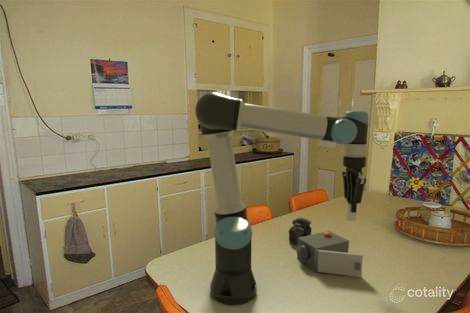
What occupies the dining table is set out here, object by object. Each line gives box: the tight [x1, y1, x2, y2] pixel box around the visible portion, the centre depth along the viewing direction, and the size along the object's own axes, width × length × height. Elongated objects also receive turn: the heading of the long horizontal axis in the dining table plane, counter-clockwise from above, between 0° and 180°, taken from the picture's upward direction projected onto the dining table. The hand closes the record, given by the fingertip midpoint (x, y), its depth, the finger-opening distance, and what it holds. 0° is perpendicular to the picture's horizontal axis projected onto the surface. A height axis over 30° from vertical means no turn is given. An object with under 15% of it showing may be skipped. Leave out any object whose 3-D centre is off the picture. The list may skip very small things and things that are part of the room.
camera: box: [288, 216, 312, 246], centre depth 146 cm, size 13×10×10 cm
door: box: [313, 250, 363, 278], centre depth 115 cm, size 16×2×8 cm, turn 76°
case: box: [296, 230, 350, 270], centre depth 126 cm, size 18×11×10 cm, turn 116°
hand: (351, 219), depth 116 cm, fingers closed
